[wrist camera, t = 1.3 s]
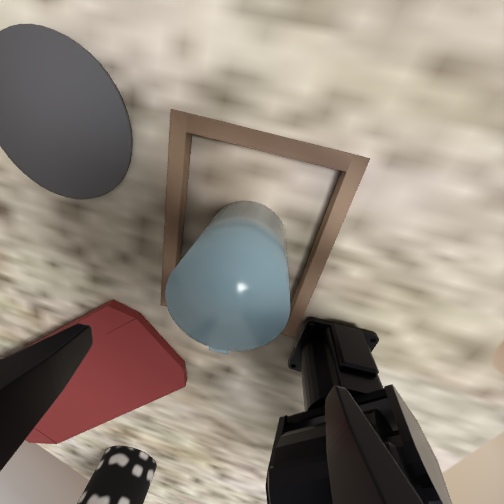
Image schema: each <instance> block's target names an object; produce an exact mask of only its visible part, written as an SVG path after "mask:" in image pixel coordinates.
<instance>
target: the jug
mask: <svg viewBox="0 0 504 504" xmlns="http://www.w3.org/2000/svg"><path fill="white" fill-rule="evenodd" d="M165 298H166V304H167V307H168V310H169V312H170V314H171V316H172V318H173V320H174V321H175V323H176V324H177V325H178V326H179V327H180V328H181V329H182V330H183V331H184V332H185V333H186V334H187V335H189V336H190V337H191V338H193V339H195V340H196V341H198V342H200V343H202V344H204V345H207V346H209V350H212V351H216V352H220V353H224V354H227V353H228V351H246V350H251V349H255V348H259V347H261V346H263V345H266V344H268V343H269V342H271V341H272V340H274V339H275V338H276V337H277V336H278V335H279V334H280V333H281V332H282V331H283V329H284V328H285V326H286V324H287V322H288V319H289V316H290V292H289V276H288V261H287V245H286V233H285V229H284V226H283V224H282V222H281V220H280V219H279V217H278V216H277V215H276V214H275V213H274V212H273V211H272V210H271V209H269V208H268V207H266V206H264V205H262V204H260V203H256V202H251V201H239V202H235V203H232V204H229V205H227V206H225V207H224V208H223V209H221V210H220V211H219V212H218V213H217V214H216V215H215V217H214V218H213V219H212V221H211V222H210V223H209V225H208V226H207V227H206V228H205V230H204V231H203V232H202V234H201V235H200V236H199V238H198V239H197V240H196V242H195V243H194V244H193V245H192V247H191V248H190V249H189V251H188V252H187V253H186V255H185V256H184V257H183V258H182V260H181V261H180V262H179V264H178V265H177V266H176V268H175V269H174V270H173V271H172V273H171V275H170V277H169V278H168V281H167V284H166V290H165Z"/></svg>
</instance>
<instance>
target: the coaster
mask: <svg viewBox="0 0 504 504" xmlns="http://www.w3.org/2000/svg"><path fill="white" fill-rule="evenodd" d="M0 146H1V147H2V149H3V150H4V151H5V153H6V154H7V155H8V157H9V158H10V159H11V160H12V161H13V163H14V164H15V165H16V166H17V167H18V168H19V169H20V170H21V171H22V172H23V173H24V174H26V175H27V176H28V177H29V178H30V179H32V180H33V181H34V182H36V183H37V184H39V185H40V186H42V187H44V188H46V189H47V190H49V191H51V192H54V193H56V194H58V195H61V196H65V197H69V198H74V199H90V198H95V197H98V196H101V195H104V194H106V193H108V192H109V191H111V190H112V189H114V188H115V187H116V186H117V185H118V184H119V183H120V182H121V180H122V179H123V178H124V176H125V174H126V172H127V170H128V167H129V164H130V161H131V155H132V130H131V125H130V120H129V116H128V113H127V110H126V107H125V104H124V102H123V99H122V97H121V95H120V93H119V91H118V89H117V87H116V85H115V84H114V82H113V81H112V79H111V77H110V76H109V74H108V73H107V72H106V70H105V69H104V68H103V67H102V65H101V64H100V63H99V62H98V61H97V60H96V59H95V58H94V57H93V56H92V55H91V54H90V53H89V52H88V51H87V50H86V49H85V48H83V47H82V46H81V45H80V44H78V43H77V42H75V41H74V40H72V39H71V38H69V37H68V36H65V35H63V34H61V33H59V32H57V31H55V30H53V29H50V28H47V27H44V26H40V25H34V24H18V25H14V26H10V27H8V28H5V29H3V30H1V31H0Z"/></svg>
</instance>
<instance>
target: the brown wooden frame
mask: <svg viewBox="0 0 504 504" xmlns="http://www.w3.org/2000/svg"><path fill="white" fill-rule="evenodd" d="M192 134H196V135H200V136H204V137H208V138H212V139H216V140H220V141H224V142H228V143H232V144H236V145H240V146H244V147H248V148H252V149H256V150H260V151H264V152H269V153H273V154H277V155H281V156H285V157H289V158H293V159H297V160H301V161H305V162H309V163H313V164H317V165H321V166H325V167H329V168H333V169H337V170H341V174H340V176H339V179H338V181H337V184H336V187H335V189H334V192H333V195H332V197H331V200H330V202H329V205H328V208H327V210H326V213H325V216H324V218H323V221H322V224H321V226H320V229H319V231H318V234H317V237H316V239H315V242H314V245H313V247H312V250H311V252H310V255H309V258H308V260H307V263H306V266H305V268H304V271H303V274H302V276H301V279H300V281H299V284H298V287H297V289H296V292H295V295H294V297H293V300H292V302H291V305H290V316H289V319H288V322H287V324H286V326H285V328H284V329H283V331H282V332H281V333H280V334H283V335H287V336H291V337H295V335H296V332H297V330H298V327H299V325H300V323H301V320H302V318H303V316H304V313H305V311H306V309H307V306H308V304H309V302H310V299H311V297H312V294H313V292H314V290H315V287H316V285H317V283H318V280H319V278H320V276H321V273H322V271H323V269H324V266H325V264H326V261H327V259H328V257H329V254H330V252H331V250H332V247H333V245H334V243H335V240H336V238H337V236H338V233H339V231H340V228H341V226H342V224H343V221H344V219H345V217H346V214H347V212H348V210H349V207H350V205H351V203H352V200H353V198H354V195H355V193H356V191H357V188H358V186H359V184H360V181H361V179H362V177H363V174H364V172H365V170H366V167H367V165H368V162H369V160H370V159H369V158H366V157H362V156H358V155H354V154H350V153H346V152H342V151H338V150H334V149H330V148H326V147H322V146H318V145H314V144H310V143H306V142H302V141H298V140H294V139H290V138H286V137H282V136H278V135H274V134H270V133H266V132H262V131H258V130H254V129H250V128H246V127H242V126H238V125H234V124H230V123H226V122H222V121H218V120H214V119H210V118H206V117H202V116H198V115H194V114H190V113H185V112H181V111H177V110H173V109H171V113H170V133H169V152H168V172H167V192H166V211H165V231H164V250H163V270H162V290H161V305H163V306H167V304H166V298H165V290H166V284H167V281H168V278H169V277H170V275H171V273H172V271H173V270H174V269H175V268H176V266H177V265H178V264H179V262H180V261H181V252H182V241H183V230H184V219H185V208H186V197H187V186H188V175H189V164H190V153H191V142H192Z"/></svg>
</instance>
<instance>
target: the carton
mask: <svg viewBox="0 0 504 504" xmlns="http://www.w3.org/2000/svg"><path fill="white" fill-rule="evenodd" d="M78 323H82V324H86V325H90V326H91V328H92V336H93V344H92V347H91V348H90V350H89V352H88V353H87V355H86V356H85V358H84V359H83V361H82V362H81V364H80V365H79V367H78V369H77V370H76V372H75V373H74V375H73V376H72V378H71V379H70V381H69V383H68V384H67V386H66V387H65V388H64V390H63V391H62V393H61V394H60V395H59V397H58V398H57V399H56V400H55V402H54V403H53V404H52V406H51V407H50V408H49V409H48V411H47V412H46V413H45V415H44V416H43V417H42V418H41V420H40V421H39V422H38V424H37V425H36V426H35V427H34V429H33V430H32V431H31V433H30V434H29V435H28V436H27V438H26V439H25V440H26V441H28V442H29V443H46V444H57V443H60V442H63V441H65V440H67V439H69V438H71V437H74V436H76V435H78V434H80V433H83V432H85V431H87V430H89V429H92V428H94V427H96V426H98V425H101V424H103V423H105V422H107V421H109V420H112V419H114V418H116V417H118V416H121V415H123V414H125V413H127V412H130V411H132V410H134V409H136V408H139V407H141V406H143V405H145V404H148V403H150V402H152V401H154V400H156V399H159V398H161V397H163V396H165V395H168V394H170V393H172V392H174V391H177V390H179V389H181V388H183V387H185V385H186V381H187V373H186V367H185V361H184V360H183V359H182V358H181V357H180V356H179V355H178V354H177V353H176V352H175V350H174V349H173V348H172V347H171V346H170V345H169V344H168V343H167V342H166V341H165V339H164V338H163V337H162V336H161V335H160V334H159V333H158V332H157V331H156V330H155V328H154V327H153V326H152V325H151V324H150V323H149V322H148V321H147V320H146V319H145V318H144V316H143V315H142V314H141V313H140V312H138V311H136V310H134V309H132V308H130V307H128V306H126V305H124V304H122V303H119V302H117V301H115V300H112V301H110V302H108V303H106V304H104V305H101V306H100V307H98V308H96V309H94V310H92V311H91V312H89V313H87V314H85V315H83V316H81V317H80V318H78V319H76V320H74V321H72V322H71V323H69V324H67V325H65V326H63V327H61V328H60V329H58V330H56V331H54V332H52V333H51V334H49V335H47V336H45V337H43V338H41V339H40V340H38V341H36V342H39V341H41V340H43V339H45V338H47V337H49V336H51V335H53V334H56V333H58V332H60V331H62V330H64V329H66V328H68V327H70V326H73V325H75V324H78ZM36 342H34V343H36ZM34 343H32V344H34ZM32 344H31V345H32ZM29 346H30V345H29ZM27 347H28V346H27ZM25 348H26V347H25ZM23 349H24V348H23ZM21 350H22V349H21Z"/></svg>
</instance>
